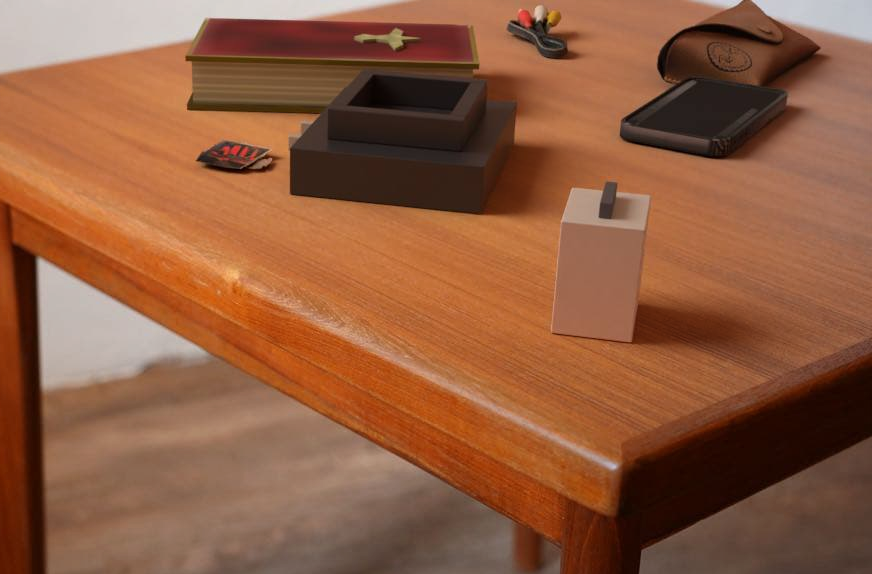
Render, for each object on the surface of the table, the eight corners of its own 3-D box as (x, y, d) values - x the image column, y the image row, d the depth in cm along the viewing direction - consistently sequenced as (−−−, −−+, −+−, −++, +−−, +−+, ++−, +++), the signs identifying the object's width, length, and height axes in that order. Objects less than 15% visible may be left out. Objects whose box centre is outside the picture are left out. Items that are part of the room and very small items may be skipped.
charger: (638, 303, 76) (653, 179, 72) (631, 343, 71) (647, 213, 68) (561, 294, 76) (573, 172, 73) (550, 333, 72) (562, 205, 69)
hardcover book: (207, 65, 116) (206, 13, 114) (469, 72, 115) (472, 20, 113) (187, 109, 105) (185, 51, 103) (476, 117, 104) (479, 60, 102)
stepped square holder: (513, 144, 99) (519, 72, 97) (481, 214, 87) (486, 134, 85) (322, 126, 102) (323, 56, 100) (264, 191, 90) (264, 113, 88)
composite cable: (572, 59, 119) (574, 29, 118) (513, 58, 119) (516, 28, 118) (557, 30, 128) (560, 2, 127) (503, 29, 128) (505, 1, 127)
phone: (615, 122, 100) (691, 74, 111) (614, 138, 100) (689, 88, 111) (726, 143, 96) (793, 90, 107) (724, 159, 96) (791, 105, 108)
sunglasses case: (762, 92, 108) (729, 9, 107) (678, 125, 112) (645, 46, 112) (825, 47, 122) (796, -27, 121) (748, 78, 126) (719, 7, 125)
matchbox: (191, 167, 93) (191, 160, 93) (215, 143, 98) (215, 136, 97) (261, 173, 92) (261, 166, 92) (282, 149, 97) (282, 142, 97)
